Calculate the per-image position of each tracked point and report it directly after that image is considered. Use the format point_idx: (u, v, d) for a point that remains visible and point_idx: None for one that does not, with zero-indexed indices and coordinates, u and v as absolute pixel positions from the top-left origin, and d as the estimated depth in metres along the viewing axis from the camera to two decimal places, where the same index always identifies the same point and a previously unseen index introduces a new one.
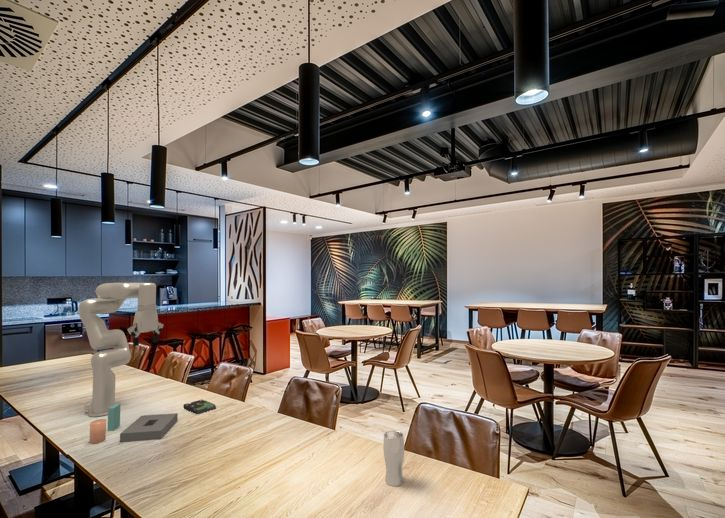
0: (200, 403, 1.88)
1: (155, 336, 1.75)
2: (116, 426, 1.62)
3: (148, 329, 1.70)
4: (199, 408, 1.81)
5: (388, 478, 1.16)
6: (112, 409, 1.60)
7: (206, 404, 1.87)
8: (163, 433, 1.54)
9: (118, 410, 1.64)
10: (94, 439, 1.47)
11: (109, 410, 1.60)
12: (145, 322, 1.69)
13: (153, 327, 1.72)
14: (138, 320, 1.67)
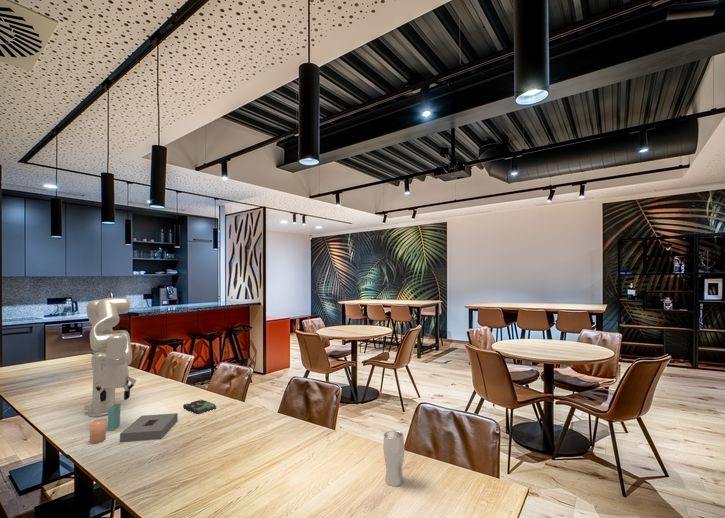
0: (200, 403, 1.88)
1: (105, 394, 1.63)
2: (116, 426, 1.62)
3: None
4: (199, 408, 1.81)
5: (388, 478, 1.16)
6: (112, 409, 1.60)
7: (206, 404, 1.87)
8: (163, 433, 1.54)
9: (118, 410, 1.64)
10: (94, 439, 1.47)
11: (109, 410, 1.60)
12: None
13: None
14: (128, 372, 1.66)
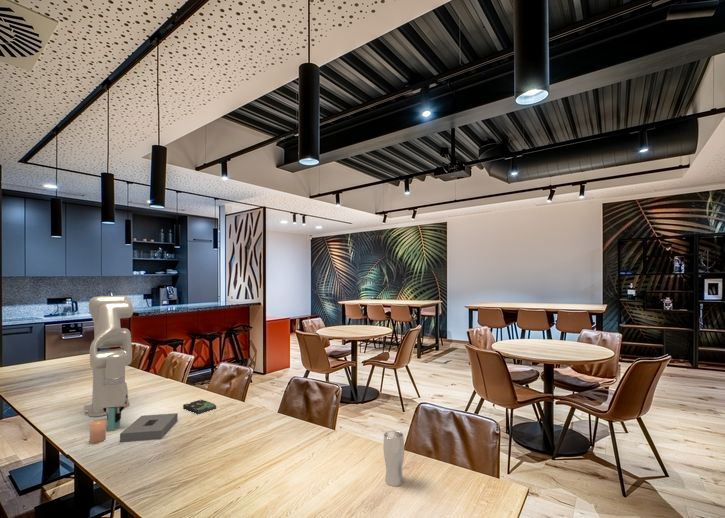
0: (200, 403, 1.88)
1: None
2: (116, 426, 1.62)
3: None
4: (200, 408, 1.81)
5: (388, 478, 1.16)
6: (112, 409, 1.60)
7: (206, 404, 1.87)
8: (163, 433, 1.54)
9: None
10: (94, 439, 1.47)
11: (109, 410, 1.60)
12: None
13: None
14: (127, 391, 1.65)
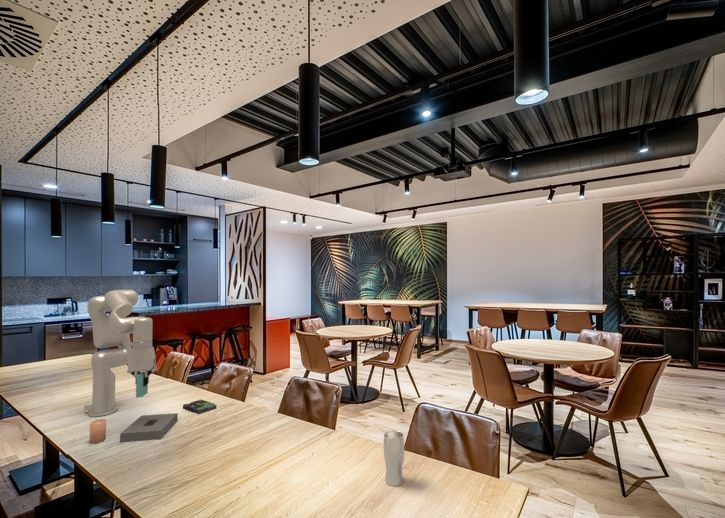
0: (200, 403, 1.88)
1: None
2: (144, 393, 1.61)
3: None
4: (200, 408, 1.81)
5: (388, 478, 1.16)
6: (140, 375, 1.59)
7: (206, 404, 1.87)
8: (163, 433, 1.54)
9: None
10: (94, 439, 1.47)
11: (137, 376, 1.59)
12: None
13: None
14: (154, 355, 1.64)
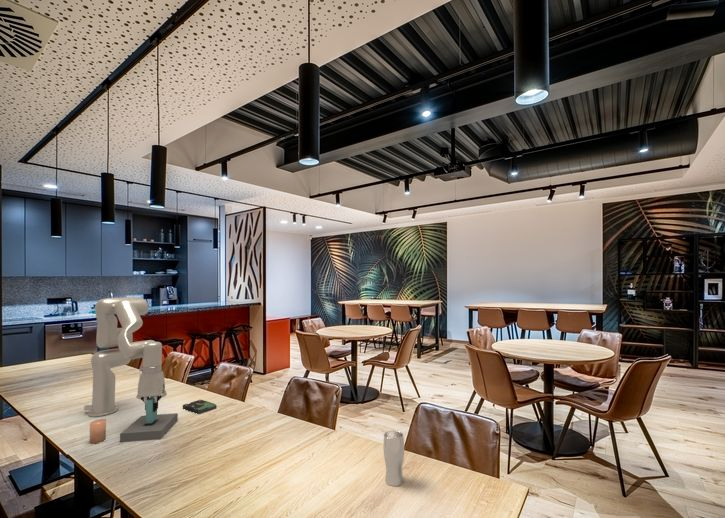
0: (200, 403, 1.88)
1: None
2: (154, 418, 1.60)
3: None
4: (200, 408, 1.81)
5: (388, 478, 1.16)
6: (149, 401, 1.57)
7: (206, 404, 1.87)
8: (163, 433, 1.54)
9: None
10: (94, 439, 1.47)
11: (147, 403, 1.57)
12: None
13: None
14: (164, 380, 1.63)
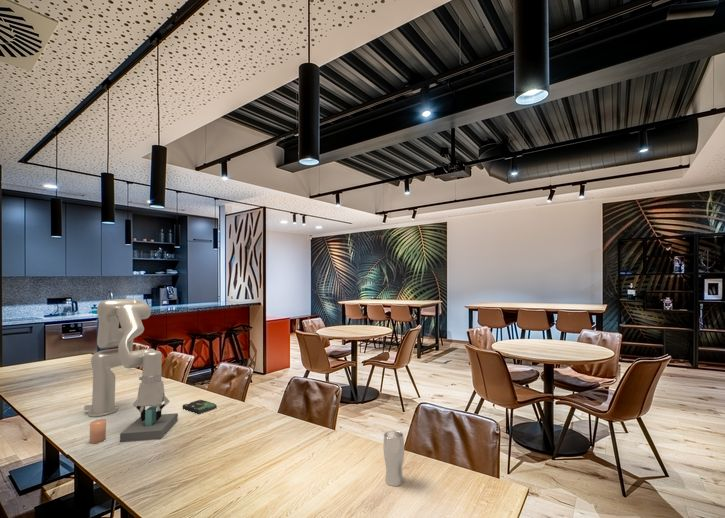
0: (200, 403, 1.88)
1: None
2: None
3: None
4: (200, 408, 1.81)
5: (388, 478, 1.16)
6: (149, 411, 1.57)
7: (206, 404, 1.87)
8: (163, 433, 1.54)
9: (155, 412, 1.61)
10: (94, 439, 1.47)
11: (146, 412, 1.57)
12: None
13: None
14: None
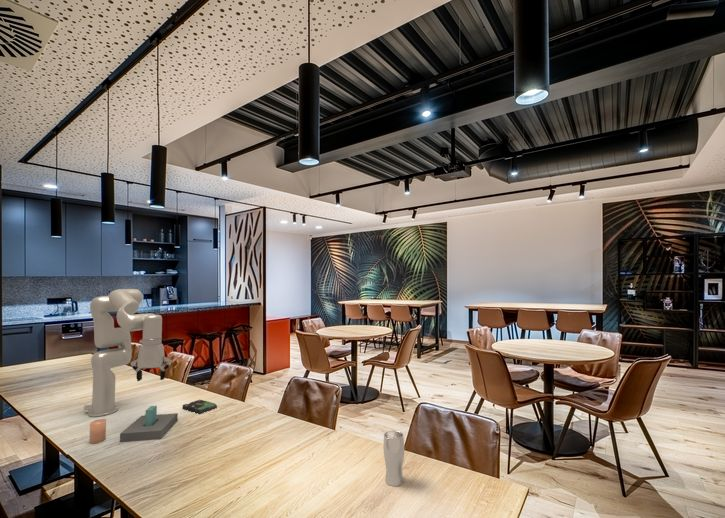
0: (200, 403, 1.88)
1: (141, 373, 1.62)
2: None
3: None
4: (201, 408, 1.81)
5: (388, 478, 1.16)
6: (149, 411, 1.57)
7: (206, 403, 1.88)
8: (163, 433, 1.54)
9: (155, 412, 1.61)
10: (94, 439, 1.47)
11: (146, 412, 1.57)
12: None
13: None
14: None
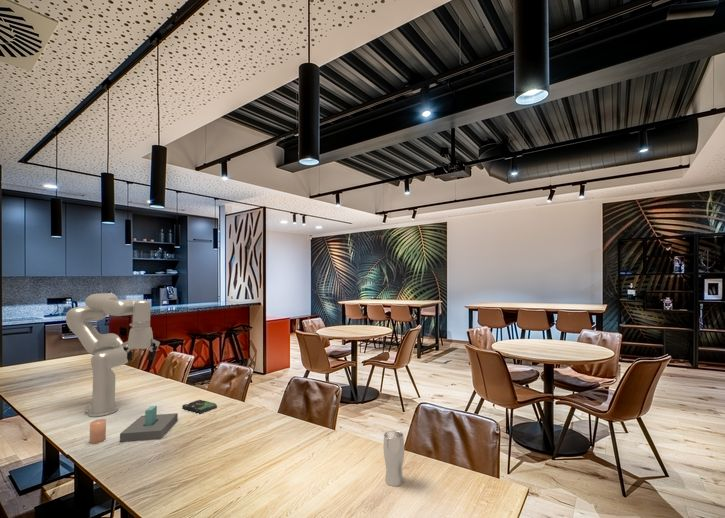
0: (200, 403, 1.88)
1: (131, 354, 1.76)
2: None
3: None
4: (201, 408, 1.81)
5: (388, 478, 1.16)
6: (149, 411, 1.57)
7: (206, 403, 1.88)
8: (163, 433, 1.54)
9: (155, 412, 1.61)
10: (94, 439, 1.47)
11: (146, 412, 1.57)
12: None
13: None
14: (152, 335, 1.79)
